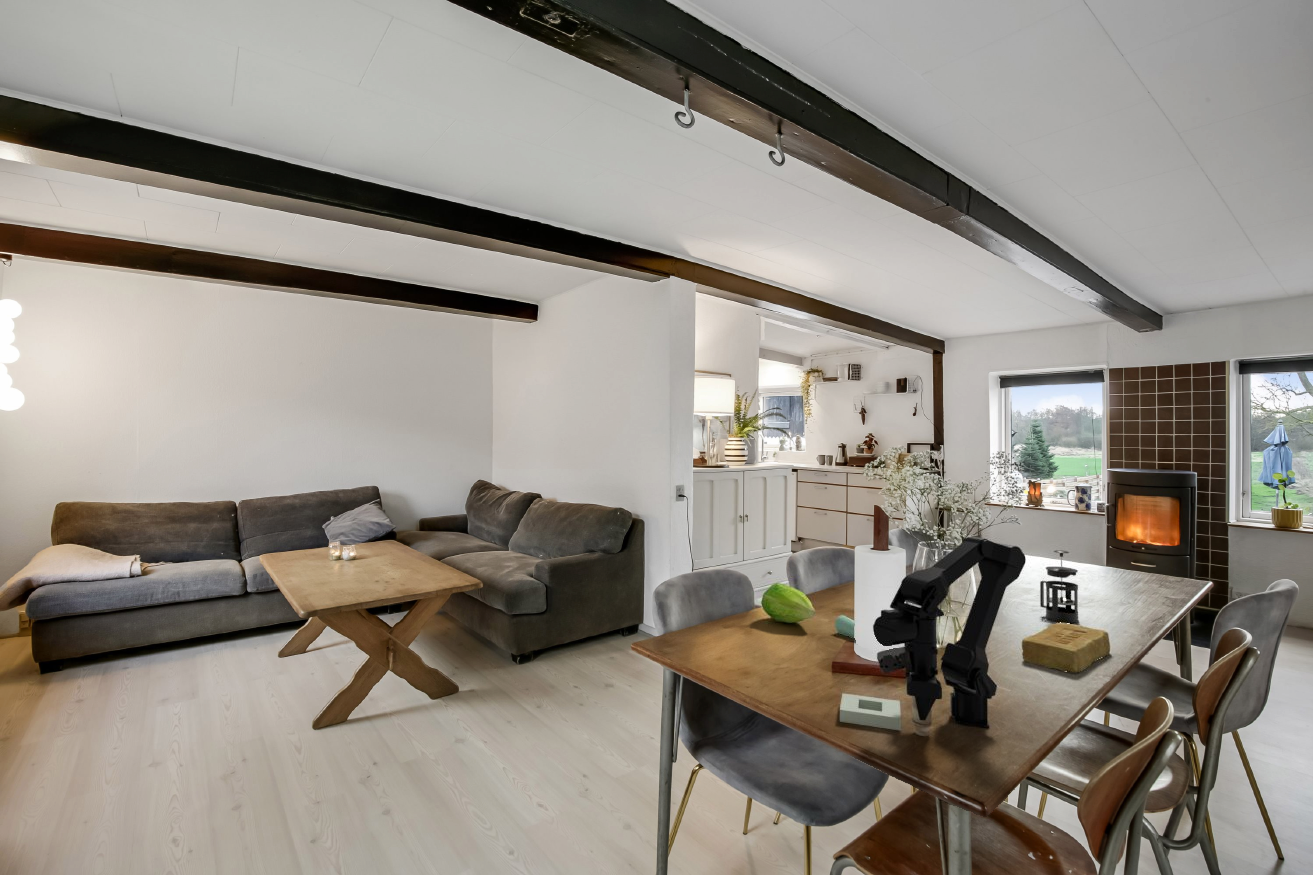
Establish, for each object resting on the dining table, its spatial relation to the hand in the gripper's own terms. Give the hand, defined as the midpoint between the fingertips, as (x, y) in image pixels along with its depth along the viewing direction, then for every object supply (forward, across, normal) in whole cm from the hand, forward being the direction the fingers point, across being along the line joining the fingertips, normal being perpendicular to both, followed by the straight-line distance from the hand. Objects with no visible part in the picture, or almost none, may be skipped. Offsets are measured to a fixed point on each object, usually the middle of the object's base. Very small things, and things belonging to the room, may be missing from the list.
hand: (921, 715), depth 125 cm
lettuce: (+4, -67, -36) cm, 76 cm away
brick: (+4, -62, +40) cm, 74 cm away
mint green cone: (+4, -55, -10) cm, 56 cm away
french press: (+4, -103, +48) cm, 114 cm away
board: (+3, -4, -10) cm, 11 cm away
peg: (+3, 0, 0) cm, 3 cm away
